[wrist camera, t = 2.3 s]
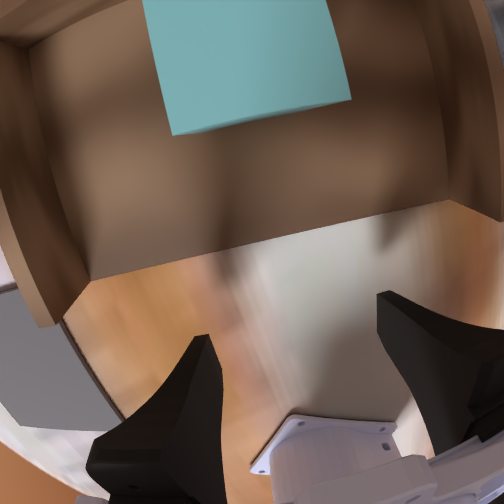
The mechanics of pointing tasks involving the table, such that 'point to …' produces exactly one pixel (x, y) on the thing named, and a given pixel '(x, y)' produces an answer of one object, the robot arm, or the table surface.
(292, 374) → the table surface
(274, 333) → the table surface
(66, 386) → the charcoal mat
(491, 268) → the table surface
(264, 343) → the table surface
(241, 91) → the teal block
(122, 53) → the walnut box
